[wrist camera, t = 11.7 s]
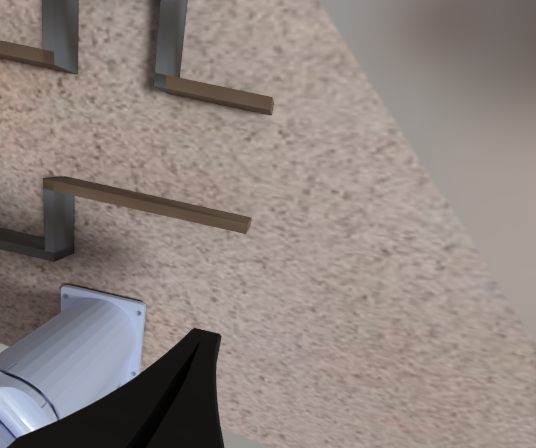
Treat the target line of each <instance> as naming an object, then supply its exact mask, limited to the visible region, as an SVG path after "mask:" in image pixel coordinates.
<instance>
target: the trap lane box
mask: <svg viewBox="0 0 536 448" xmlns="http://www.w3.org/2000/svg"><path fill="white" fill-rule="evenodd" d="M187 1H188V0H161V1H160V14H159V26H158V38H157V51H156V63H155V76H154V86H155V87H157V88H159V89H161V90H163V91H164V92H166V93H169V94H174V95H179V96H183V97H188V98H193V99H198V100H202V101H207V102H212V103H217V104H221V105H226V106H231V107H236V108H241V109H245V110H250V111H255V112H260V113H264V114H269V115H272V111H273V106H274V102H273V98H272V97H269V96H264V95H259V94H254V93H250V92H245V91H240V90H235V89H230V88H226V87H221V86H216V85H211V84H206V83H202V82H197V81H192V80H187V79H182V78H180V68H181V59H182V49H183V39H184V30H185V20H186V11H187ZM78 11H79V0H42V31H43V49H39V48H34V47H29V46H24V45H19V44H15V43H10V42H5V41H0V58H3V59H8V60H12V61H17V62H22V63H27V64H31V65H36V66H41V67H46V68H50V69H55V70H60V71H65V72H69V73H74V74H78ZM43 188H44V228H45V238H42V237H38V236H33V235H29V234H24V233H20V232H16V231H11V230H7V229H3V228H0V249H2V250H6V251H11V252H15V253H19V254H24V255H28V256H32V257H37V258H41V259H45V260H50V261H54V262H55V261H57V260H59V259H62V258H64V257H66V256H68V255H71V254H73V253H74V196H79V197H83V198H88V199H92V200H97V201H101V202H105V203H110V204H114V205H119V206H123V207H128V208H132V209H137V210H141V211H146V212H150V213H155V214H159V215H164V216H168V217H173V218H177V219H182V220H186V221H191V222H195V223H199V224H204V225H208V226H213V227H217V228H222V229H226V230H231V231H235V232H240V233H244V234H246V233H247V231H248V229H249V228H250V224H251V219H252V218H250V217H246V216H241V215H237V214H232V213H228V212H223V211H219V210H214V209H210V208H205V207H200V206H196V205H191V204H187V203H182V202H178V201H173V200H169V199H164V198H160V197H155V196H151V195H146V194H142V193H137V192H133V191H128V190H124V189H119V188H115V187H110V186H106V185H101V184H97V183H92V182H88V181H83V180H79V179H74V178H70V177H54V178H43Z"/></svg>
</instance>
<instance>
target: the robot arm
mask: <svg viewBox="0 0 536 448" xmlns="http://www.w3.org/2000/svg"><path fill="white" fill-rule="evenodd" d="M67 295H68V296H67ZM138 311H140V312H141V313H139V312H138ZM145 313H146V305H145V304H144V303H143V302H140V301H136V300H132V299H127V298H123V297H119V296H114V295H110V294H106V293H102V292H97V291H93V290H89V289H84V288H80V287H76V286H72V285H65V286H63V287H62V288H61V313H59V314H58V315H56V316H55V317H53V318H52V319H50V320H49V321H47V322H46V323H44V324H43V325H41V326H40V327H38V328H37V329H35V330H34V331H32V332H31V333H29V334H28V335H27V336H25V337H24V338H22V339H21V340H19V341H18V342H16V343H15V344H13V345H12V346H10V347H9V348H7V349H6V350H4V351H3V352H1V353H0V448H224V443H223V438H222V432H221V426H220V420H219V412H218V403H217V390H216V363H217V358H218V352H219V347H220V342H221V335H220V334H218V333H214V332H210V331H205V330H201V329H197V328H194V329H192V330H191V331H190V332H189V333H188V334H187V335H186V336H185V337H184V338H183V339H182V340H181V341H180V342H178V343H177V344H176V345H175V346H174V347H173V348H172V349H170V350H169V351H168V352H167V353H166V354H165V355H163V356H162V357H161V358H160V359H159V360H157V361H156V362H155V363H153V364H152V365H151V366H149V367H148V368H147V369H146V370H144V371H143V372H141V373H140V367H141V356H142V345H143V334H144V323H145Z"/></svg>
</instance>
